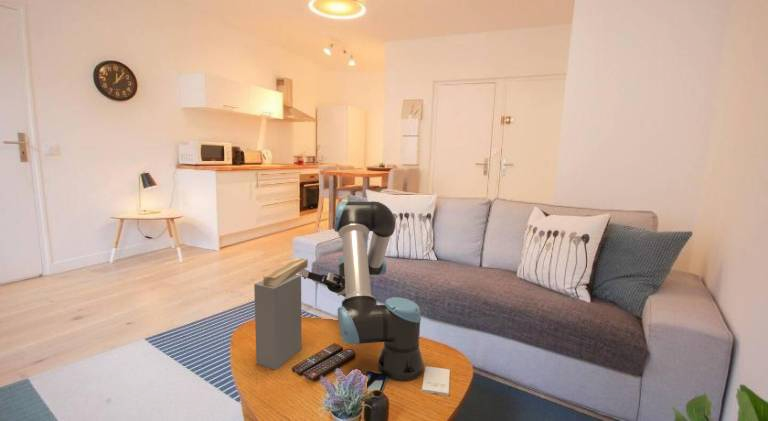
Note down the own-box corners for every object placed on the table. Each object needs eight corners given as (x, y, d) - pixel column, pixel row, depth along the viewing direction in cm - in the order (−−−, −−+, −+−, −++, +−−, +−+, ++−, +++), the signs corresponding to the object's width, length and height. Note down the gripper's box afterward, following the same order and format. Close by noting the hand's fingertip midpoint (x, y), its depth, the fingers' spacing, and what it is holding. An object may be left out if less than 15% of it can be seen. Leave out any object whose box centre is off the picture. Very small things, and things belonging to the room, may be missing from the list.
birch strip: (307, 266, 139) (307, 259, 139) (274, 286, 119) (274, 277, 118) (298, 265, 141) (297, 257, 140) (263, 285, 120) (263, 276, 119)
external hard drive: (449, 373, 124) (448, 397, 112) (425, 370, 125) (421, 393, 113) (450, 369, 123) (449, 392, 111) (425, 365, 125) (421, 388, 113)
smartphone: (352, 400, 108) (367, 370, 122) (352, 403, 108) (367, 372, 122) (376, 405, 106) (388, 374, 120) (376, 408, 106) (388, 376, 121)
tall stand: (301, 349, 134) (301, 275, 130) (275, 370, 122) (273, 288, 117) (283, 344, 138) (282, 271, 133) (256, 363, 125) (254, 284, 120)
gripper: (361, 298, 156) (338, 288, 138) (311, 287, 166) (284, 277, 148) (365, 280, 158) (344, 269, 140) (316, 271, 168) (290, 259, 150)
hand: (313, 273), depth 144 cm, fingers open, 13 cm apart
